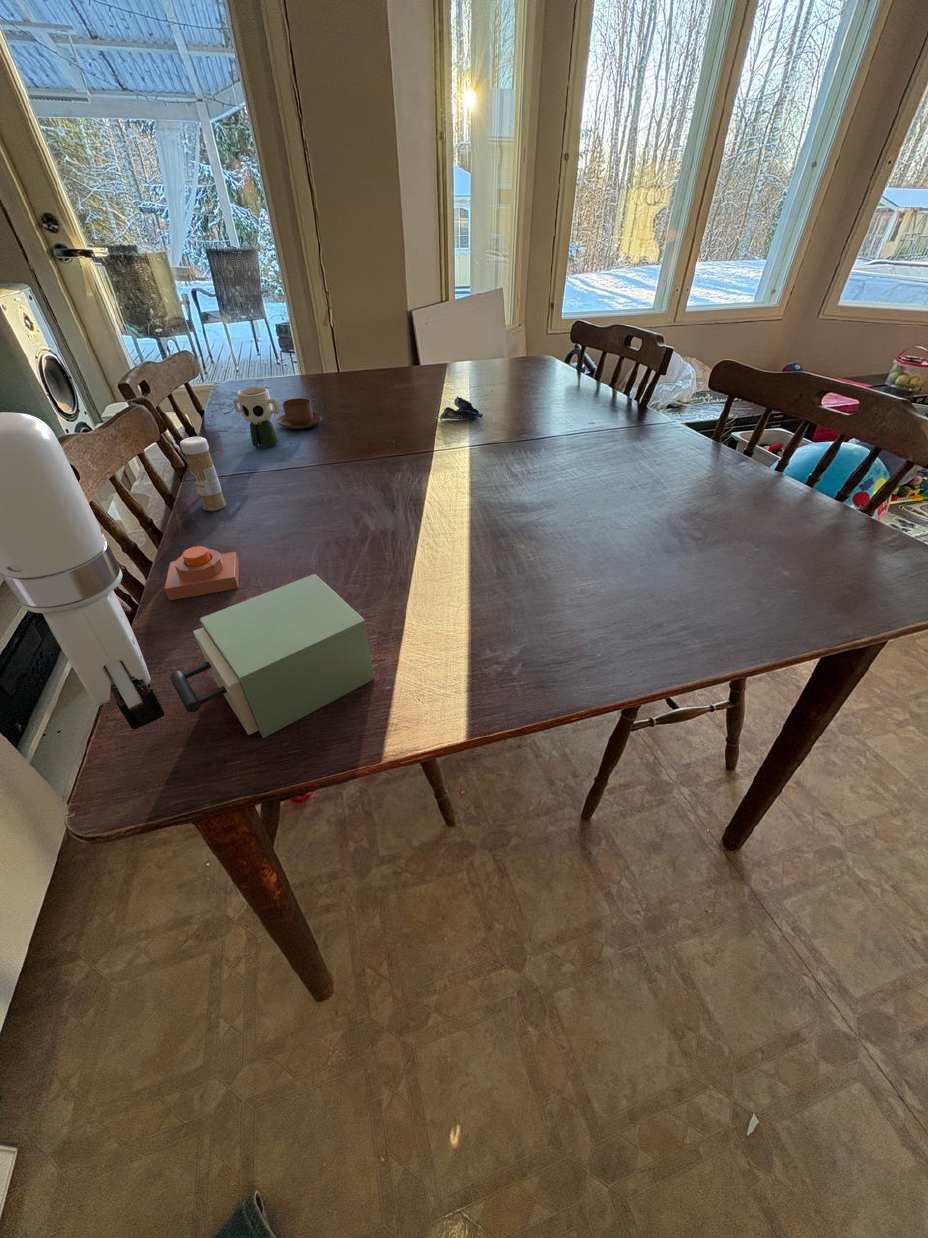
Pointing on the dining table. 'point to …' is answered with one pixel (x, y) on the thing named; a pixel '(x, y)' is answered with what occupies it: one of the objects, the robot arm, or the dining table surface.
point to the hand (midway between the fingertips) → (147, 718)
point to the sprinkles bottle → (203, 473)
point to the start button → (196, 556)
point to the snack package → (460, 410)
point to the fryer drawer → (222, 677)
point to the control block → (202, 576)
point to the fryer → (292, 650)
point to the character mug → (258, 414)
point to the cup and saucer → (298, 414)
